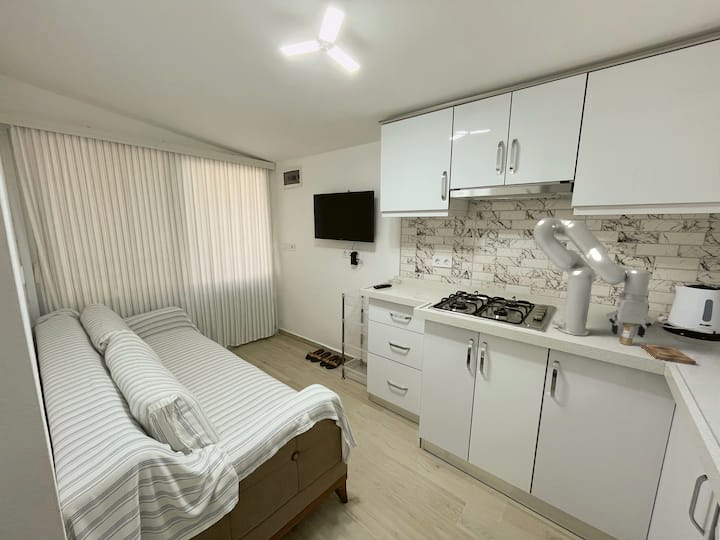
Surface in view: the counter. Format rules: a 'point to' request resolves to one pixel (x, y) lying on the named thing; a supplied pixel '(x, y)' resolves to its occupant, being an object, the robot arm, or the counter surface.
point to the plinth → (667, 354)
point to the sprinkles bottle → (627, 333)
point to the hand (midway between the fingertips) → (627, 334)
